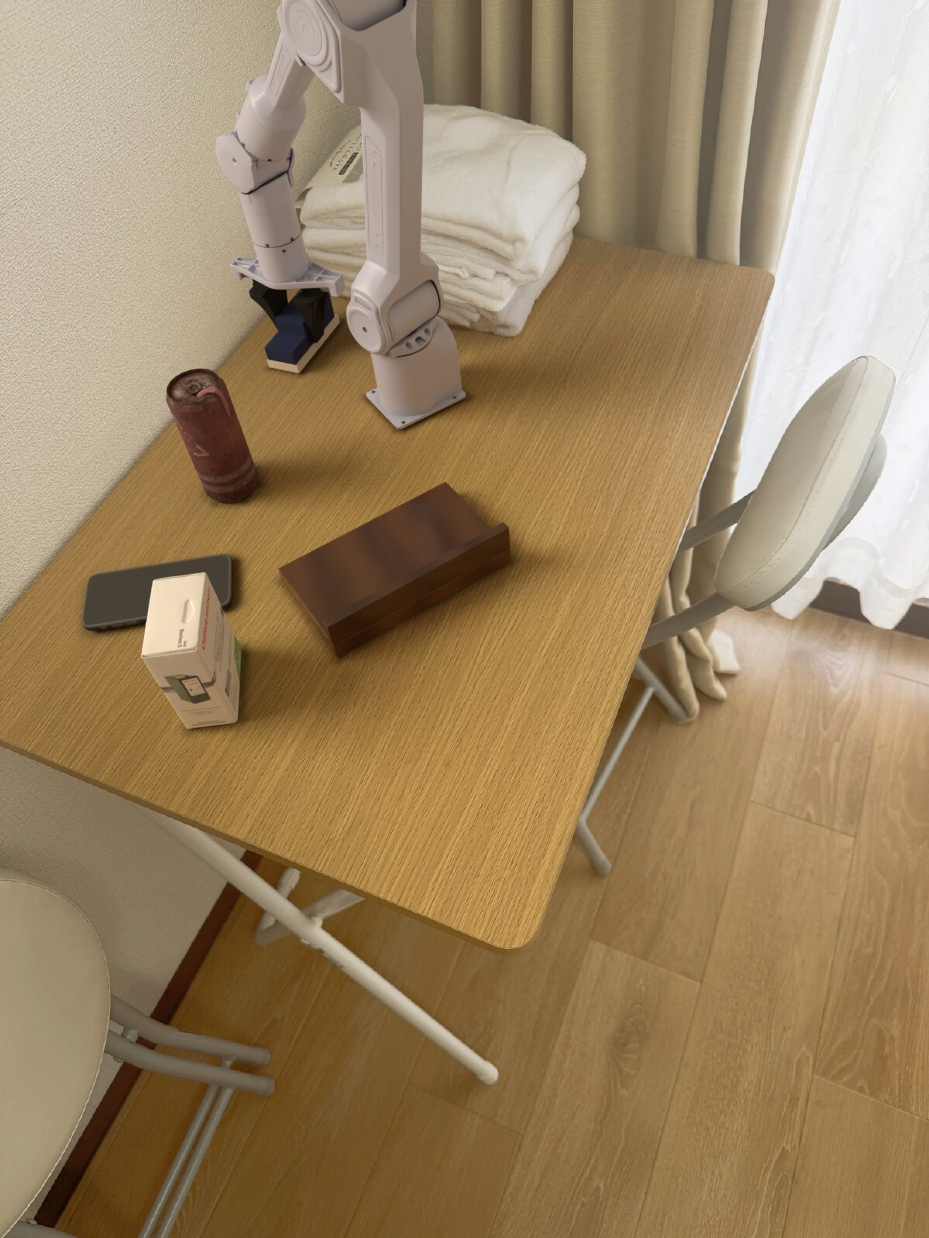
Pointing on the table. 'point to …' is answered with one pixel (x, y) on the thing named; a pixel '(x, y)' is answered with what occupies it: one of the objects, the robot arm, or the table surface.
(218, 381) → the can
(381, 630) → the wooden lipped stand
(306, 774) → the table surface
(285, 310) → the navy block on plinth
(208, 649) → the ink box
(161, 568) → the smartphone
